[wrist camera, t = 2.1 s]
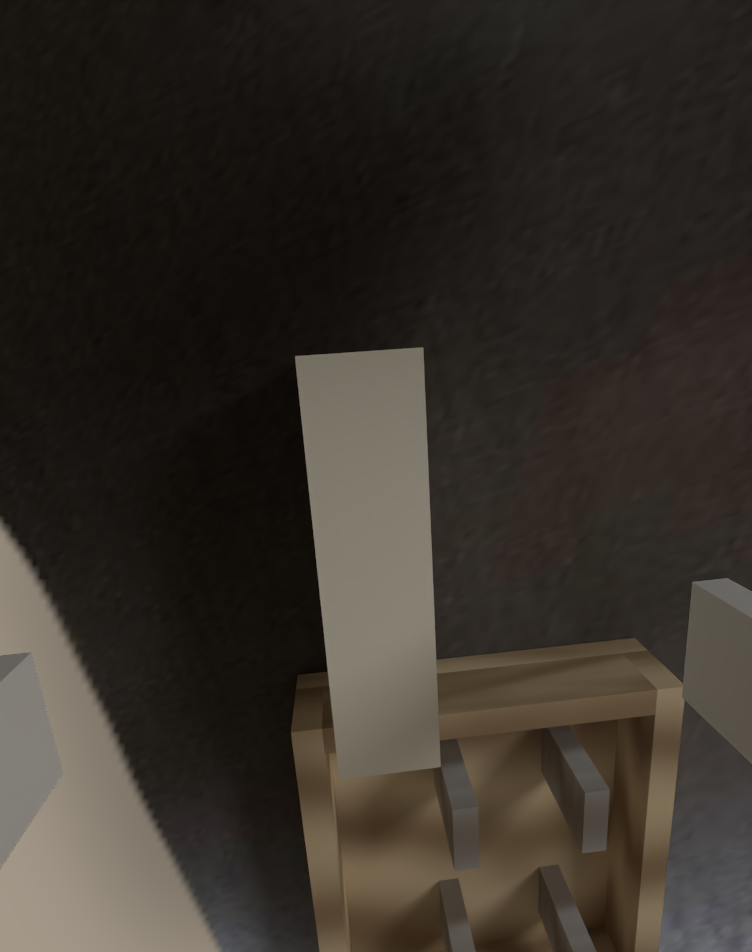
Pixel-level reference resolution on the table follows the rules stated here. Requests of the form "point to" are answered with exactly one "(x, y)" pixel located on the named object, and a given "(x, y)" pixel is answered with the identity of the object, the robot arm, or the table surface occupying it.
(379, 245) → the table surface
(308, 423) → the beige rectangular block
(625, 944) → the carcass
